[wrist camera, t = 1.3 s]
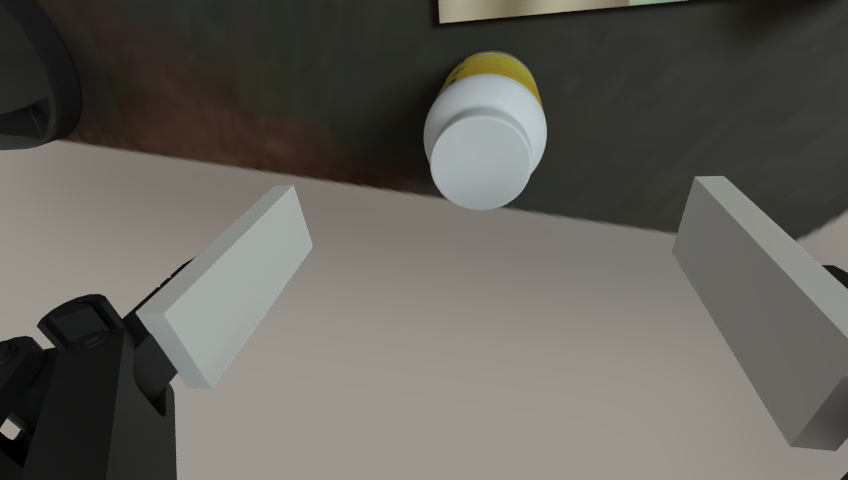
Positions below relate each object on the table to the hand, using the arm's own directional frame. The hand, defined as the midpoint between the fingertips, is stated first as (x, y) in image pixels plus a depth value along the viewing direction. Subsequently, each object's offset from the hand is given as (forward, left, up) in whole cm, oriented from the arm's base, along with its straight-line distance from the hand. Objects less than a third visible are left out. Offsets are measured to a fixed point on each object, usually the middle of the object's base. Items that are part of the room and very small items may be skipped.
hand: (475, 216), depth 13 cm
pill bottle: (0, 0, -17) cm, 17 cm away
